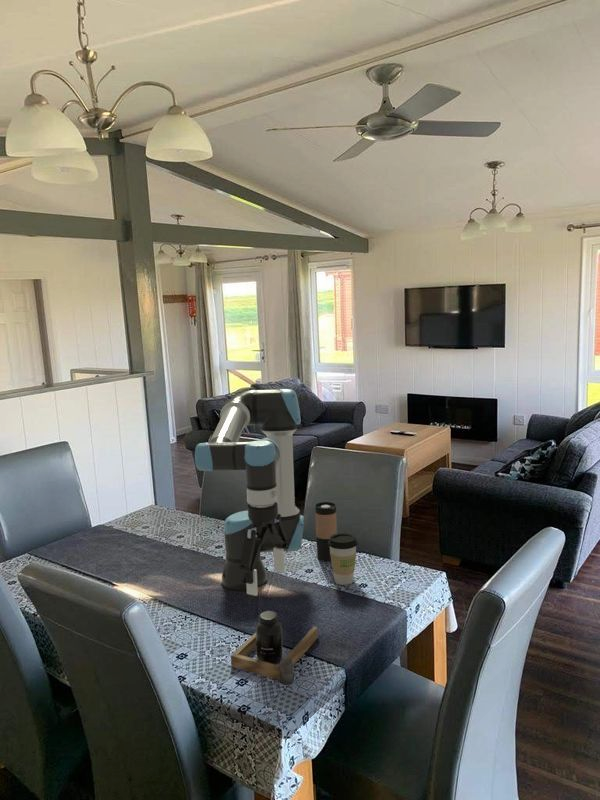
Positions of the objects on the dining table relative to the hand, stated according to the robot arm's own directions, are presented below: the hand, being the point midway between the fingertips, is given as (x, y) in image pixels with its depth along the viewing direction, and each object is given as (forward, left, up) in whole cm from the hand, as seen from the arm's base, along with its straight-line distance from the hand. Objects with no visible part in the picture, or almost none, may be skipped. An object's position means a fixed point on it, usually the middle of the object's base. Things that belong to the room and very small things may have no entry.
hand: (266, 582), depth 150 cm
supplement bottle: (0, 0, -21) cm, 21 cm away
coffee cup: (0, +49, -21) cm, 53 cm away
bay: (+2, +3, -21) cm, 21 cm away
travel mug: (-13, +64, -21) cm, 68 cm away
